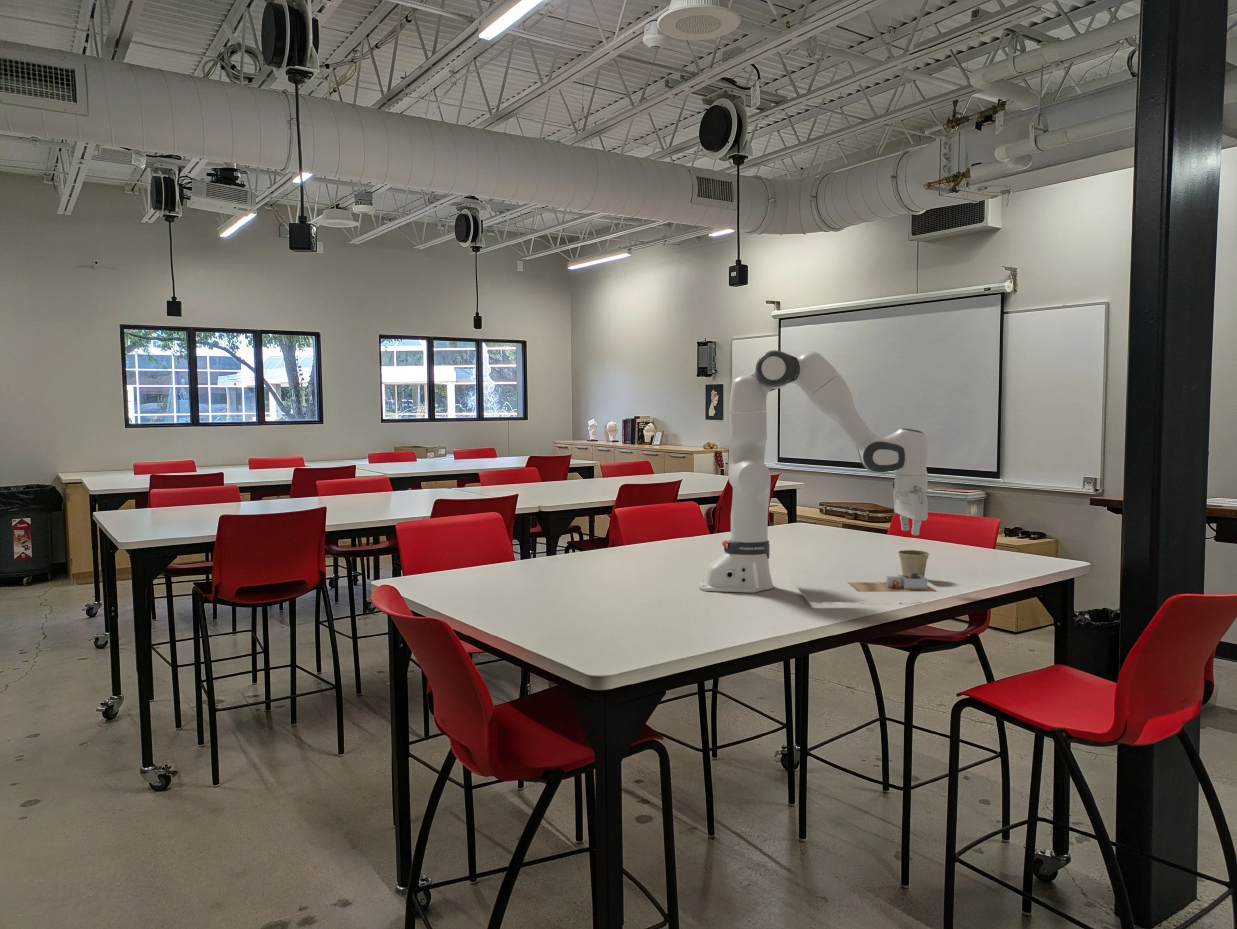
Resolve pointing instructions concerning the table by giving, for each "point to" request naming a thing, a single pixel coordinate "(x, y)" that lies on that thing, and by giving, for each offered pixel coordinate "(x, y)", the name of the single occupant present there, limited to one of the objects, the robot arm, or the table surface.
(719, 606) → the table surface
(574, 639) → the table surface
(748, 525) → the robot arm
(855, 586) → the board
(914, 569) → the flower pot
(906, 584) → the grey square frame
